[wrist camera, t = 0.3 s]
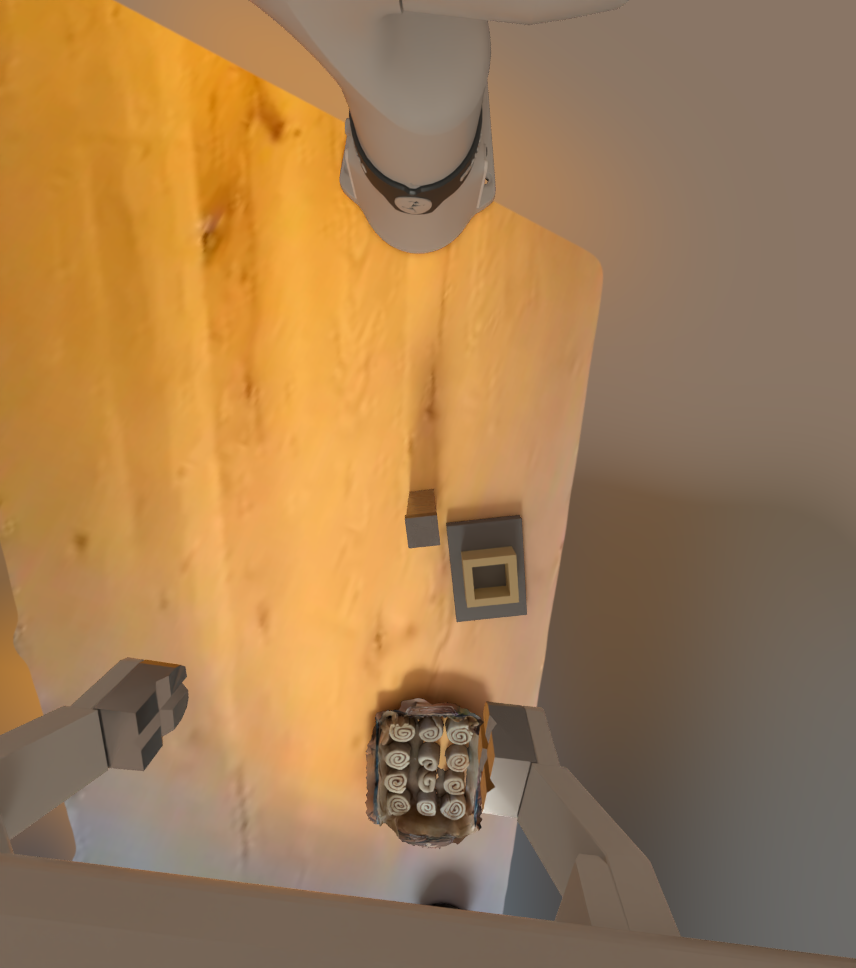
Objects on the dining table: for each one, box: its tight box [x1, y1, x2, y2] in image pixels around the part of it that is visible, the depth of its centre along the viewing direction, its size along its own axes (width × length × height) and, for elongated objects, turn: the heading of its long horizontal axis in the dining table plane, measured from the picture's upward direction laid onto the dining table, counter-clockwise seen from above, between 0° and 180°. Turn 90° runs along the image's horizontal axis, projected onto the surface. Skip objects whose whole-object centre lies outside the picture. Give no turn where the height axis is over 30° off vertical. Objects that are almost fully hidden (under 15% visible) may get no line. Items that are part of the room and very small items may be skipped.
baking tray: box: [365, 698, 484, 849], centre depth 68 cm, size 30×22×5 cm
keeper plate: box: [446, 515, 527, 622], centre depth 59 cm, size 16×11×4 cm
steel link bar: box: [405, 489, 440, 548], centre depth 53 cm, size 4×4×12 cm
